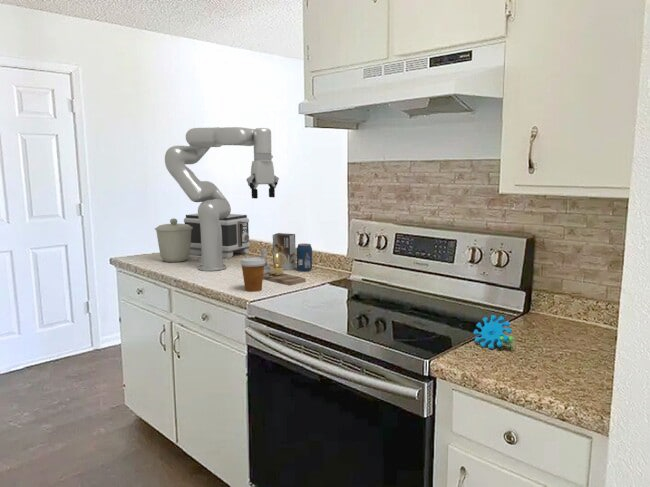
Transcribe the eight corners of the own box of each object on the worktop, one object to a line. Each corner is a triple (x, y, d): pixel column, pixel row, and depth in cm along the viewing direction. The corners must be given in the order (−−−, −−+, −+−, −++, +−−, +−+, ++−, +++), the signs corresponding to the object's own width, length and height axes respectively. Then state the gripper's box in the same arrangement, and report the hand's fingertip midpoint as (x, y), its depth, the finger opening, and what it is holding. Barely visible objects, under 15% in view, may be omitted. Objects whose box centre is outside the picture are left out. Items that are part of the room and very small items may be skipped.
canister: (148, 262, 250) (146, 219, 247) (172, 256, 267) (170, 216, 264) (178, 265, 243) (176, 221, 240) (201, 258, 260) (199, 217, 257)
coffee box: (296, 267, 238) (296, 233, 235) (290, 270, 232) (290, 235, 229) (278, 266, 241) (278, 232, 239) (272, 269, 235) (272, 234, 233)
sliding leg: (266, 275, 213) (265, 254, 212) (277, 272, 218) (277, 252, 217) (271, 276, 211) (271, 255, 210) (283, 273, 216) (283, 253, 214)
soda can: (302, 268, 237) (302, 242, 235) (314, 270, 233) (314, 244, 231) (293, 271, 231) (293, 244, 229) (306, 272, 227) (306, 246, 225)
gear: (465, 336, 139) (486, 308, 141) (473, 347, 142) (493, 319, 144) (499, 354, 130) (521, 323, 132) (506, 365, 134) (528, 335, 136)
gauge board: (251, 276, 219) (250, 248, 218) (266, 273, 226) (266, 246, 224) (289, 285, 203) (289, 255, 202) (305, 281, 210) (305, 252, 208)
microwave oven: (235, 259, 258) (233, 218, 254) (184, 254, 274) (182, 215, 270) (256, 254, 273) (255, 215, 270) (207, 249, 290) (206, 212, 286)
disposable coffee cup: (251, 294, 190) (251, 262, 188) (235, 289, 196) (235, 259, 194) (271, 289, 197) (270, 259, 195) (255, 285, 203) (254, 255, 201)
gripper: (272, 158, 227) (272, 196, 230) (241, 157, 215) (242, 198, 217) (283, 157, 222) (283, 197, 225) (252, 157, 210) (253, 199, 212)
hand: (263, 197), depth 221 cm, fingers open, 9 cm apart
